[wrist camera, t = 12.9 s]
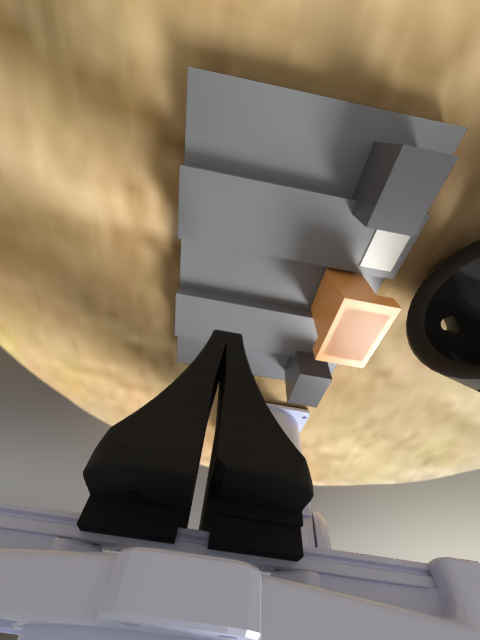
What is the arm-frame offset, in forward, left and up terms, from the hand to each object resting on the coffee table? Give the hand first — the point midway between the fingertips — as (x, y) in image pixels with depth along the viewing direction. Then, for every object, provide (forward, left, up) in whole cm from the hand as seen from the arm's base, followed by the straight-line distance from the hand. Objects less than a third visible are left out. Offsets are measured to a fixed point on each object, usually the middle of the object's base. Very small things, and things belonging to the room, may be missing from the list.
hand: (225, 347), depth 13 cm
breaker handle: (+1, -7, -7) cm, 10 cm away
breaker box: (+1, -3, -9) cm, 10 cm away
